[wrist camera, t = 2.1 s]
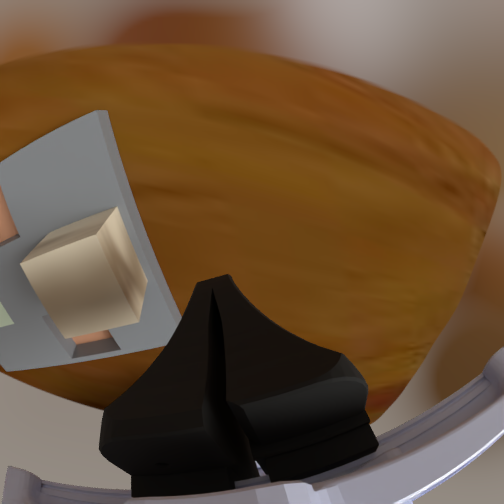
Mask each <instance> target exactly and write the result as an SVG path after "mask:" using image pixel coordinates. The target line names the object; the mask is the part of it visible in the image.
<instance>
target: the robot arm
mask: <svg viewBox="0 0 504 504" xmlns="http://www.w3.org/2000/svg"><path fill="white" fill-rule="evenodd" d="M367 395H368V385H367V383H366V381H365V379H364V378H363V376H362V375H361V374H360V372H359V371H358V370H357V368H356V367H355V366H354V365H353V364H352V363H351V362H350V361H349V360H348V358H347V357H346V356H345V355H344V354H342V353H339V352H336V351H332V350H329V349H326V348H323V347H320V346H317V345H315V344H313V343H310V342H308V341H306V340H304V339H302V338H300V337H298V336H296V335H294V334H292V333H290V332H288V331H287V330H285V329H283V328H282V327H280V326H279V325H277V324H276V323H274V322H273V321H272V320H270V319H269V318H268V317H266V316H265V315H264V314H263V313H261V312H260V311H259V310H258V309H257V308H256V307H255V306H254V305H253V304H252V303H251V302H250V301H249V300H248V299H247V298H246V297H245V296H244V295H243V294H242V293H241V291H240V290H239V289H238V287H237V286H236V285H235V283H234V281H233V280H232V277H231V276H230V275H228V274H226V275H223V276H219V277H215V278H212V279H208V280H205V281H201V282H197V284H196V286H195V288H194V291H193V293H192V296H191V298H190V301H189V303H188V305H187V308H186V310H185V312H184V314H183V316H182V318H181V320H180V322H179V324H178V326H177V328H176V330H175V332H174V333H173V335H172V337H171V338H170V340H169V342H168V343H167V345H166V346H165V348H164V349H163V351H162V352H161V353H160V355H159V356H158V357H157V358H156V360H155V361H154V362H153V363H152V364H151V366H150V367H149V368H148V369H147V371H146V372H145V373H144V374H143V375H142V376H141V377H140V378H139V379H138V380H137V381H136V382H135V383H134V384H133V385H132V386H131V387H130V388H129V389H128V390H127V391H126V392H125V393H123V394H122V395H121V396H120V397H119V398H117V399H116V400H115V401H114V402H112V403H111V404H110V405H109V406H107V407H106V408H105V409H104V413H103V418H102V425H101V433H100V442H99V450H100V452H101V454H102V455H103V456H104V457H105V458H106V459H107V460H108V461H110V462H111V463H113V464H114V465H116V466H117V467H119V468H120V469H122V470H123V471H125V472H126V473H128V474H130V475H131V490H119V489H102V488H91V487H82V486H74V485H67V484H61V483H55V482H50V481H45V480H41V479H40V478H39V477H37V476H36V475H34V474H33V473H31V472H29V471H26V470H24V469H20V468H15V467H12V466H8V468H7V473H6V479H5V485H4V491H3V498H2V504H413V502H412V501H413V500H415V499H417V498H419V497H420V496H422V495H424V494H426V493H427V492H429V491H430V490H432V489H434V488H435V487H437V486H438V485H440V484H441V483H443V482H444V481H446V480H447V479H449V478H450V477H452V476H453V475H454V474H456V473H457V472H459V471H460V470H461V469H463V468H464V467H465V466H467V465H468V464H469V463H471V462H472V461H473V460H474V459H476V458H477V457H478V456H479V455H481V454H482V453H483V452H484V451H485V450H487V449H488V448H489V447H490V446H491V445H492V444H494V443H495V442H496V441H497V440H498V439H499V438H500V437H501V436H502V435H503V434H504V346H503V347H502V348H501V349H500V350H499V351H497V352H496V353H495V354H494V355H493V356H492V357H491V358H490V359H489V361H488V362H487V364H486V365H485V367H484V369H483V372H482V373H481V374H480V375H479V376H477V377H476V378H475V379H473V380H472V381H471V382H469V383H468V384H466V385H465V386H464V387H462V388H461V389H459V390H458V391H456V392H455V393H454V394H452V395H451V396H449V397H448V398H446V399H445V400H443V401H441V402H440V403H438V404H437V405H435V406H433V407H432V408H430V409H428V410H427V411H425V412H423V413H422V414H420V415H418V416H416V417H415V418H413V419H411V420H409V421H408V422H405V423H404V424H402V425H400V426H398V427H396V428H394V429H392V430H390V431H388V432H386V433H384V434H382V435H380V436H377V437H375V435H374V433H373V431H372V429H371V427H370V425H369V423H370V419H369V417H368V415H367V413H366V411H365V405H366V400H367Z"/></svg>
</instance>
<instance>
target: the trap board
mask: <svg viewBox="0 0 504 504" xmlns="http://www.w3.org/2000/svg"><path fill="white" fill-rule="evenodd" d="M116 206H117V207H118V210H119V212H120V215H121V218H122V220H123V223H124V225H125V228H126V230H127V233H128V236H129V238H130V240H131V243H132V245H133V248H134V250H135V253H136V255H137V257H138V260H139V262H140V264H141V267H142V269H143V271H144V273H145V276H146V278H147V280H148V282H147V286H146V291H145V295H144V300H143V305H142V310H141V315H140V321H139V322H138V323H134V324H130V325H125V326H121V327H117V328H112V329H108V330H104V331H99V332H95V333H90V334H85V335H81V336H76V337H71V338H67V339H65V338H64V336H63V335H62V333H61V332H60V331H59V329H58V328H57V326H56V325H55V323H54V322H53V320H52V319H51V317H50V316H49V314H48V312H47V311H46V309H45V308H44V306H43V304H42V303H41V301H40V299H39V298H38V296H37V294H36V293H35V291H34V289H33V287H32V286H31V284H30V282H29V280H28V278H27V276H26V275H25V273H24V271H23V269H22V267H21V265H20V263H21V262H22V261H23V260H24V259H25V257H26V256H27V255H28V254H29V253H30V252H31V251H32V250H33V249H34V248H35V247H36V246H37V245H38V244H39V243H40V242H41V241H42V240H43V239H44V238H45V237H46V236H47V235H48V234H49V233H50V232H52V231H54V230H56V229H59V228H61V227H64V226H66V225H69V224H71V223H74V222H76V221H79V220H81V219H84V218H86V217H89V216H92V215H94V214H97V213H100V212H102V211H105V210H108V209H111V208H113V207H116ZM181 318H182V317H181V315H180V312H179V310H178V308H177V306H176V304H175V301H174V299H173V297H172V295H171V292H170V290H169V288H168V285H167V283H166V281H165V278H164V276H163V274H162V271H161V269H160V267H159V264H158V262H157V259H156V257H155V254H154V252H153V249H152V247H151V244H150V242H149V239H148V236H147V234H146V231H145V228H144V226H143V223H142V220H141V218H140V215H139V212H138V209H137V206H136V204H135V201H134V198H133V195H132V192H131V189H130V186H129V183H128V180H127V177H126V174H125V171H124V168H123V164H122V161H121V158H120V155H119V151H118V148H117V144H116V141H115V138H114V134H113V130H112V127H111V123H110V119H109V116H108V112H107V110H96V111H93V112H91V113H89V114H87V115H84V116H82V117H80V118H78V119H76V120H74V121H72V122H70V123H68V124H66V125H64V126H62V127H60V128H58V129H56V130H54V131H52V132H50V133H48V134H46V135H45V136H43V137H41V138H39V139H37V140H36V141H34V142H32V143H31V144H29V145H27V146H25V147H24V148H22V149H21V150H19V151H17V152H16V153H14V154H13V155H11V156H9V157H8V158H6V159H5V160H3V161H2V162H0V364H1V365H2V367H3V368H4V369H5V370H6V371H16V370H26V369H34V368H42V367H50V366H57V365H64V364H70V363H77V362H83V361H89V360H95V359H101V358H106V357H112V356H117V355H122V354H127V353H132V352H137V351H142V350H147V349H151V348H156V347H160V346H165V345H167V343H168V342H169V340H170V338H171V337H172V335H173V333H174V332H175V330H176V328H177V326H178V324H179V322H180V320H181Z"/></svg>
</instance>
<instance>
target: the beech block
mask: <svg viewBox="0 0 504 504" xmlns="http://www.w3.org/2000/svg"><path fill="white" fill-rule="evenodd" d="M20 265H21V267H22V269H23V271H24V273H25V275H26V276H27V278H28V280H29V282H30V284H31V286H32V287H33V289H34V291H35V293H36V294H37V296H38V298H39V299H40V301H41V303H42V304H43V306H44V308H45V309H46V311H47V312H48V314H49V316H50V317H51V319H52V320H53V322H54V323H55V325H56V326H57V328H58V329H59V331H60V332H61V333H62V335H63V336H64V338H65V339H67V338H71V337H76V336H81V335H85V334H90V333H95V332H99V331H104V330H108V329H112V328H117V327H121V326H125V325H130V324H134V323H138V322H139V321H140V315H141V310H142V305H143V300H144V295H145V291H146V286H147V282H148V280H147V278H146V276H145V273H144V271H143V269H142V267H141V264H140V262H139V260H138V257H137V255H136V253H135V250H134V248H133V245H132V243H131V240H130V238H129V236H128V233H127V230H126V228H125V225H124V223H123V220H122V218H121V215H120V212H119V210H118V207H117V206H116V207H113V208H111V209H108V210H105V211H102V212H100V213H97V214H94V215H92V216H89V217H86V218H84V219H81V220H79V221H76V222H74V223H71V224H69V225H66V226H64V227H61V228H59V229H56V230H54V231H52V232H50V233H49V234H48V235H47V236H46V237H45V238H44V239H43V240H42V241H41V242H40V243H39V244H38V245H37V246H36V247H35V248H34V249H33V250H32V251H31V252H30V253H29V254H28V255H27V256H26V257H25V259H24V260H23V261H22V262H21V263H20Z"/></svg>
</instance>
